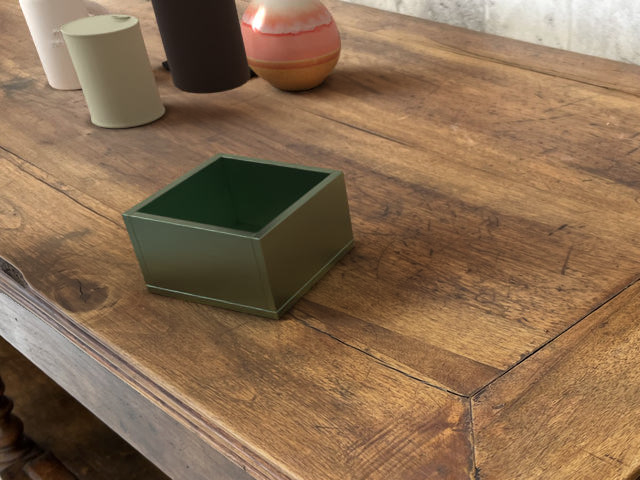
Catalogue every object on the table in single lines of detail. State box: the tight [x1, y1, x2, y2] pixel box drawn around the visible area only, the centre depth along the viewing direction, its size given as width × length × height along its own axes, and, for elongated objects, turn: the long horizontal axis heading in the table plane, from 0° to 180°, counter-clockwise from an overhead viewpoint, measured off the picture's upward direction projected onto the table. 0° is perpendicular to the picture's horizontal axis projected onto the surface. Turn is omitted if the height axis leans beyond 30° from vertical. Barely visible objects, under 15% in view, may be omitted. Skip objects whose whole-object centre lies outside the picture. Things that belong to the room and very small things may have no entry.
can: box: [61, 13, 166, 129], centre depth 102 cm, size 9×9×12 cm
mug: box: [18, 0, 113, 91], centre depth 115 cm, size 8×12×12 cm
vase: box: [240, 0, 342, 92], centre depth 110 cm, size 14×14×18 cm
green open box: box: [121, 152, 356, 321], centre depth 72 cm, size 14×14×8 cm
